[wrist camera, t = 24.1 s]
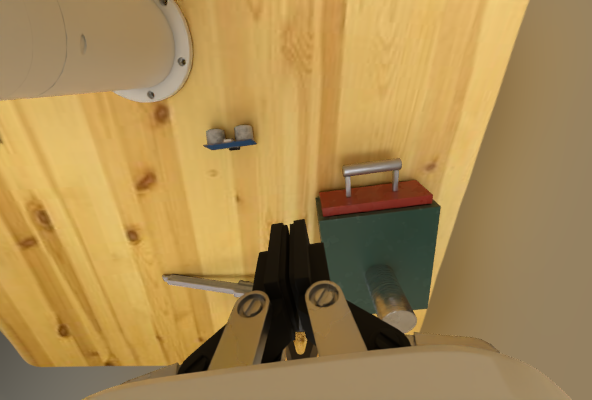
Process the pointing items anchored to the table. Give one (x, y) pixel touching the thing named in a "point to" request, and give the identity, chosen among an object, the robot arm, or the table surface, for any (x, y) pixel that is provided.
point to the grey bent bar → (210, 284)
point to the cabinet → (381, 250)
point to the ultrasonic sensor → (219, 142)
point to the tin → (389, 298)
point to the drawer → (373, 191)
